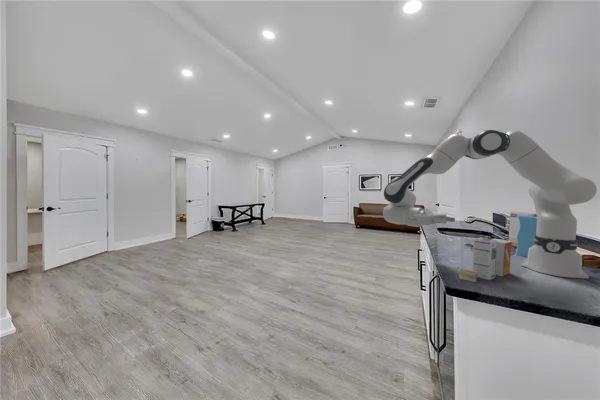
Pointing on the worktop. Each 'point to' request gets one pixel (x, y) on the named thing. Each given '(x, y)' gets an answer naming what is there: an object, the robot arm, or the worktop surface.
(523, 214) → the cracker box
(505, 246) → the small box
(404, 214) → the robot arm
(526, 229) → the vase
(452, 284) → the worktop surface
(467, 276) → the maple block
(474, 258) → the syrup box
